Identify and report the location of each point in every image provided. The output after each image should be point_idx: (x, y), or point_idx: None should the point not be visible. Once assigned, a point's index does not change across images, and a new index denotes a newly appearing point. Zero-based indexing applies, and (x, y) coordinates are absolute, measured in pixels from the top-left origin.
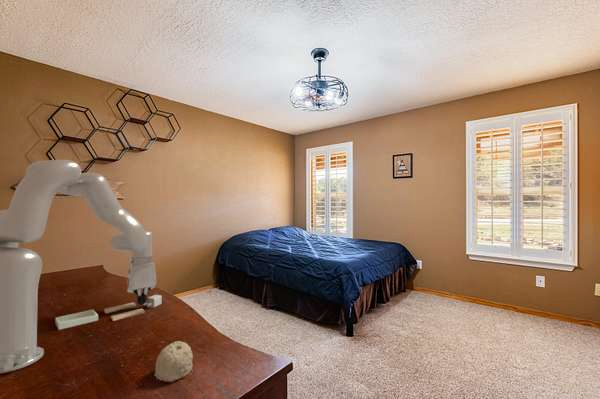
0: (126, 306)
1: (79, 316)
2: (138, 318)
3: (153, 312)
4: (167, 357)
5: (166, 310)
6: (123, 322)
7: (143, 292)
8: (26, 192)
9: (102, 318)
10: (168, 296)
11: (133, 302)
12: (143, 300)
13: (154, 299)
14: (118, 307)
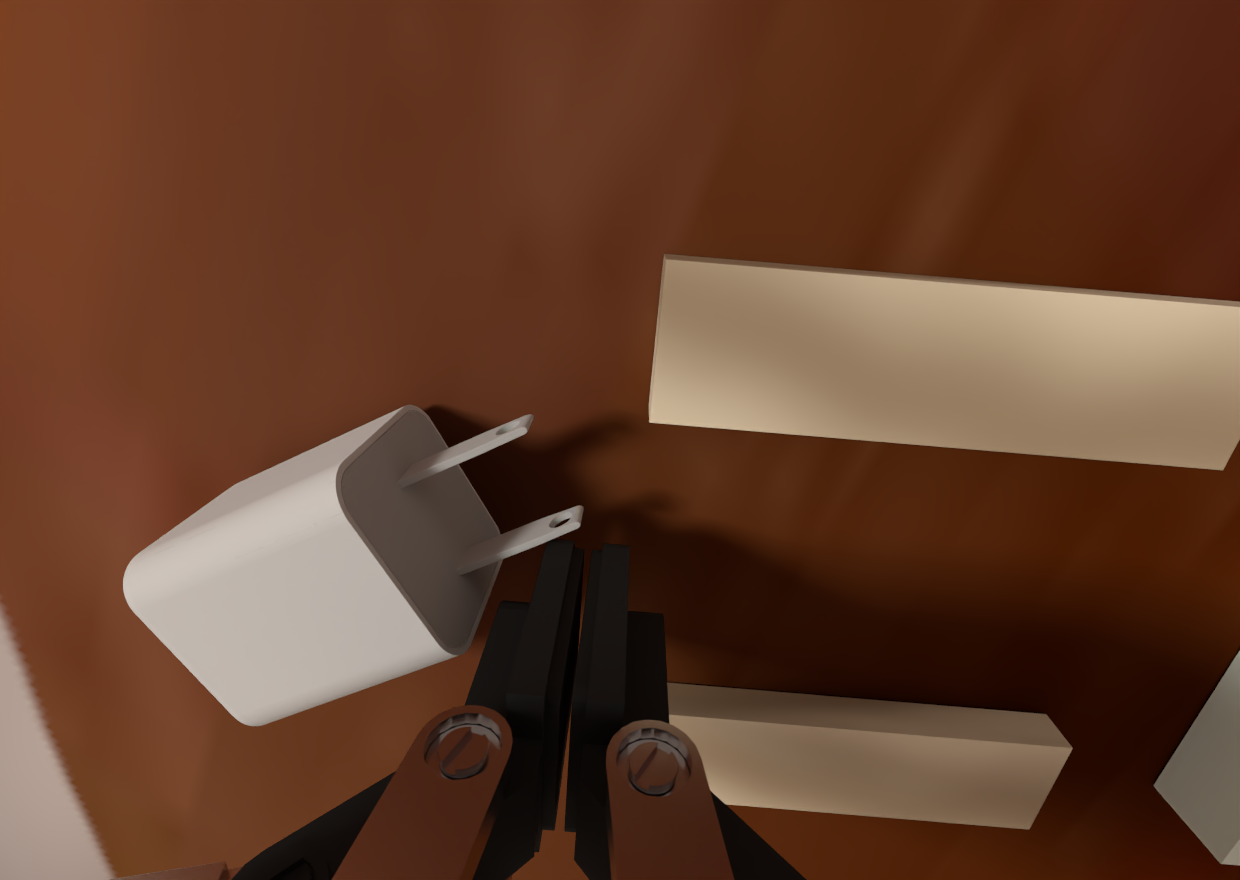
0: (768, 718)
1: None
2: (912, 8)
3: (520, 134)
4: None
5: (246, 8)
6: (1233, 29)
7: (507, 818)
8: None
9: (1217, 564)
10: (77, 727)
11: None
12: (564, 597)
13: (332, 473)
14: (875, 753)
